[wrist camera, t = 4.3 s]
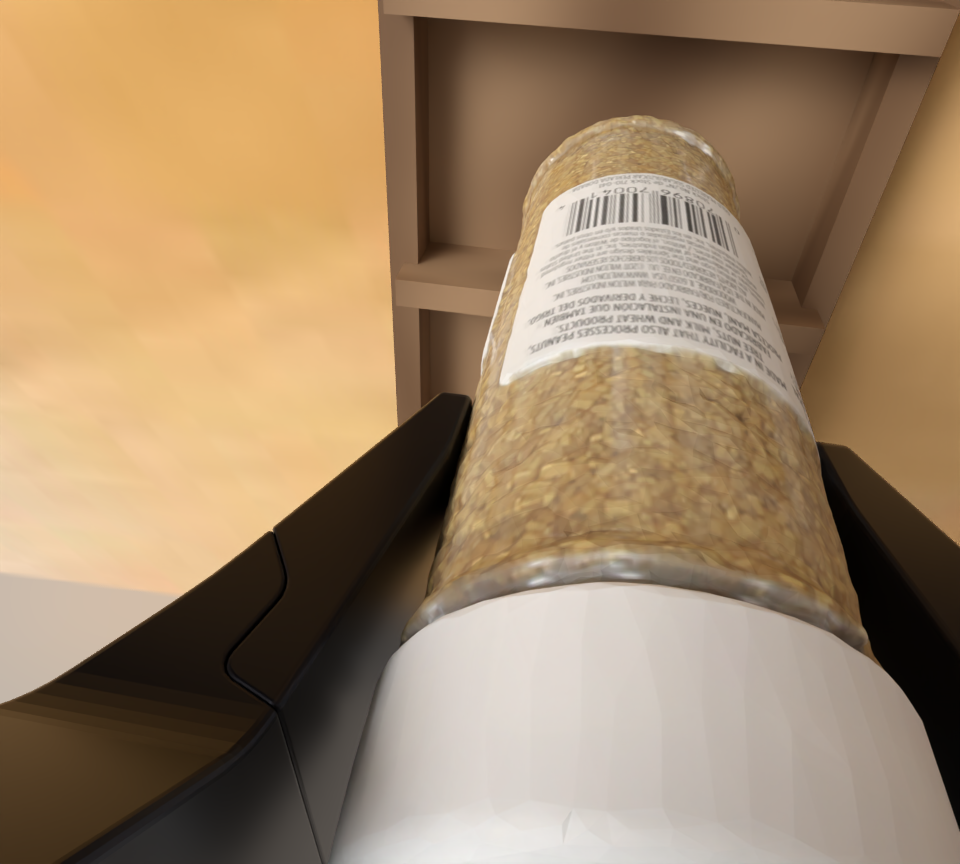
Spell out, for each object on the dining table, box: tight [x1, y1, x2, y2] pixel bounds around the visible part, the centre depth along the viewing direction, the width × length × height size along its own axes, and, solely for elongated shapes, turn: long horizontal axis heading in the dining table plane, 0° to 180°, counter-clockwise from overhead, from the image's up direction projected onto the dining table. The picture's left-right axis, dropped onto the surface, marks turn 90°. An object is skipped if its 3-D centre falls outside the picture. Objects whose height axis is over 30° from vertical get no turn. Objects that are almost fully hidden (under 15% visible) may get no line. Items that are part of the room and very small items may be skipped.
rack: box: [378, 0, 960, 426], centre depth 17 cm, size 12×23×3 cm, turn 178°
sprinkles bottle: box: [328, 115, 960, 864], centre depth 10 cm, size 5×5×13 cm
